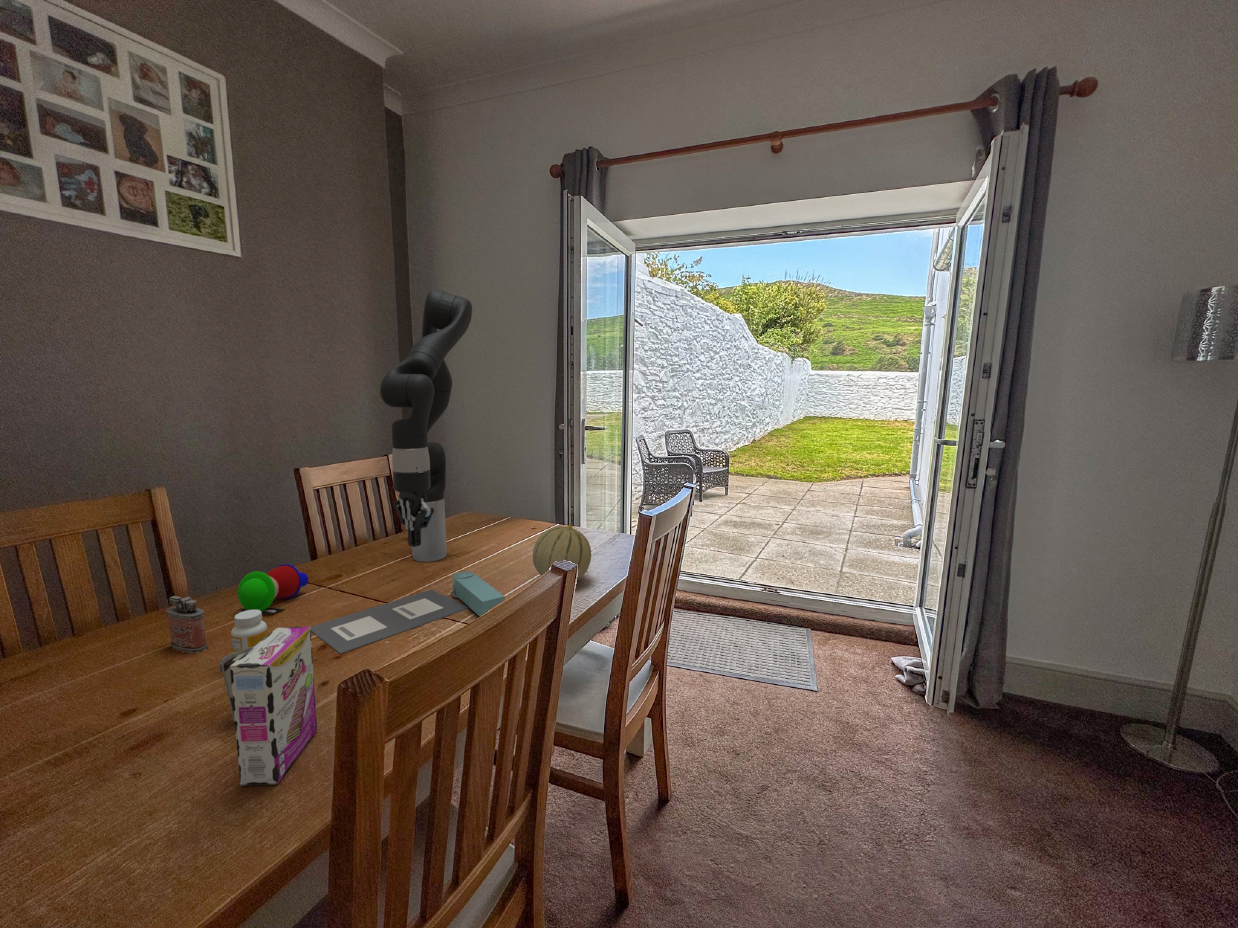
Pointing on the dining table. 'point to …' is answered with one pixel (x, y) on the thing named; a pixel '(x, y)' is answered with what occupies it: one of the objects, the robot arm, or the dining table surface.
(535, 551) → the cantaloupe
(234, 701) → the candy bar box
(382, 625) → the label panel
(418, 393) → the robot arm
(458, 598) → the pivot base
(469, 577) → the block
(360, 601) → the dining table surface
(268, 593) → the toy figure
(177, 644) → the lighter
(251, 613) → the supplement bottle
